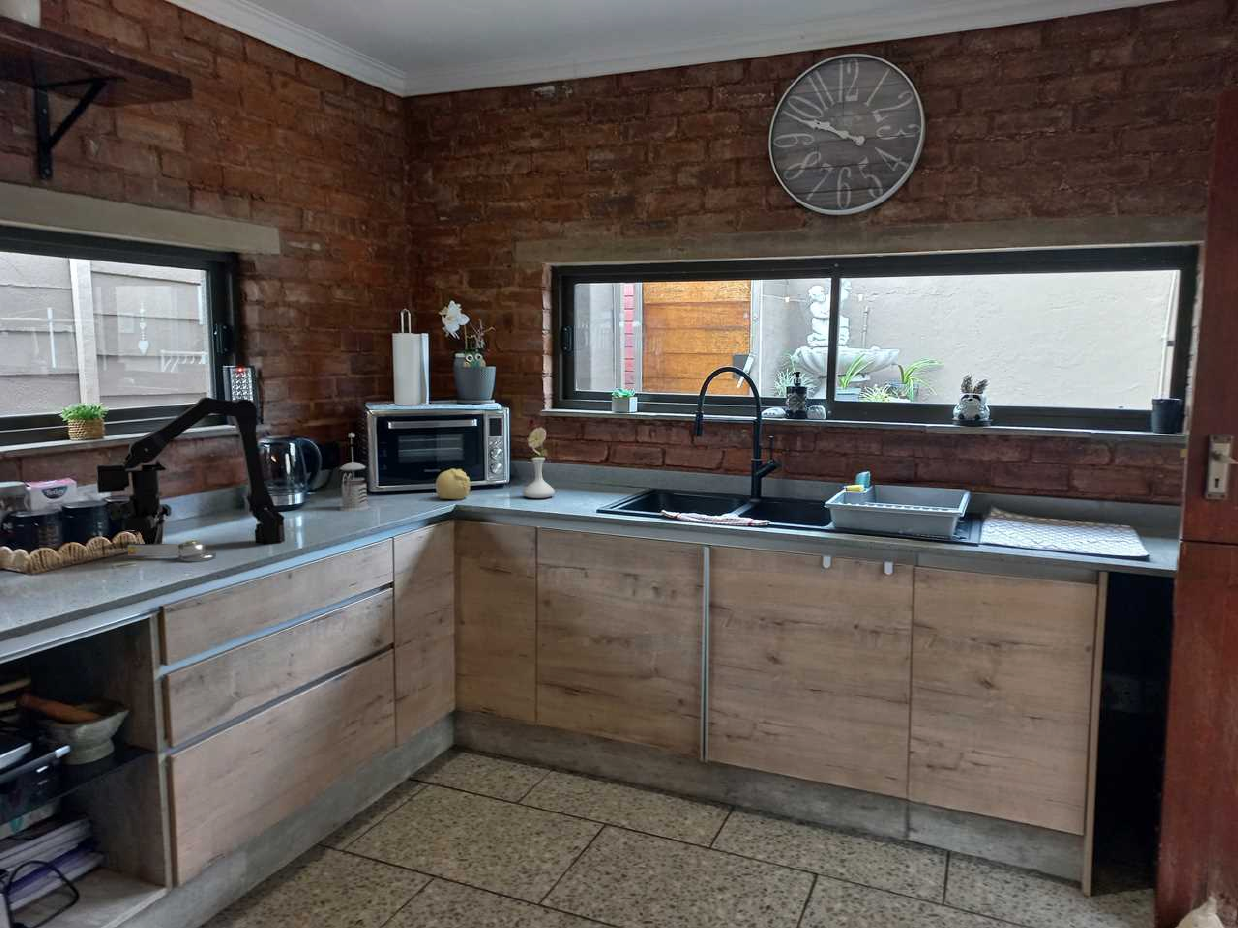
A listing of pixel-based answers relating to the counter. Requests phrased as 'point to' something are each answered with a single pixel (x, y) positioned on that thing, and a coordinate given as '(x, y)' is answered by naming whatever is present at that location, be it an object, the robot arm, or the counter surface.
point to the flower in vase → (538, 468)
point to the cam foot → (174, 551)
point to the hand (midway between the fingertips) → (150, 550)
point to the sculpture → (453, 484)
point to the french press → (353, 488)
